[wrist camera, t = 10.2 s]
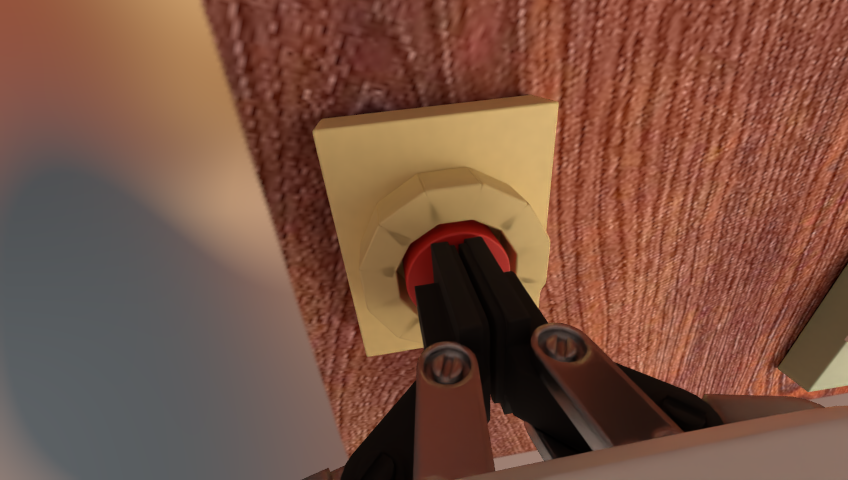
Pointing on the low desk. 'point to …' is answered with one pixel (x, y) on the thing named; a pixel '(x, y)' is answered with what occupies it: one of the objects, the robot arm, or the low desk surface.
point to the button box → (434, 196)
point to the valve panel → (822, 343)
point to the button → (454, 233)
